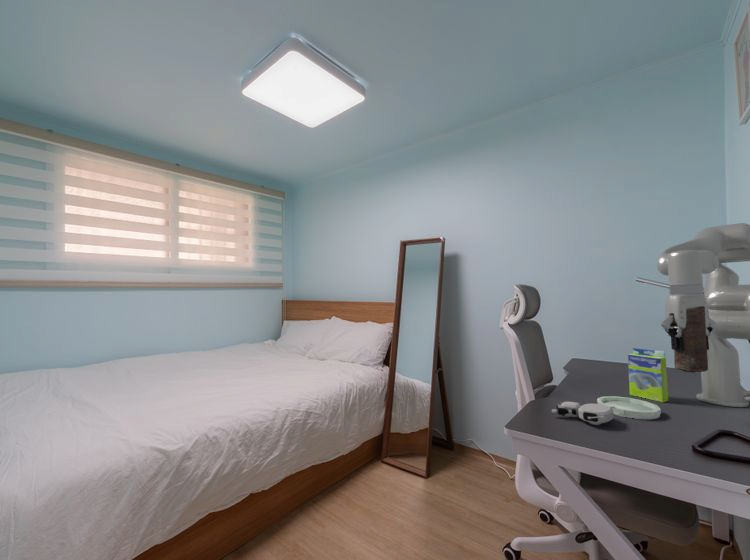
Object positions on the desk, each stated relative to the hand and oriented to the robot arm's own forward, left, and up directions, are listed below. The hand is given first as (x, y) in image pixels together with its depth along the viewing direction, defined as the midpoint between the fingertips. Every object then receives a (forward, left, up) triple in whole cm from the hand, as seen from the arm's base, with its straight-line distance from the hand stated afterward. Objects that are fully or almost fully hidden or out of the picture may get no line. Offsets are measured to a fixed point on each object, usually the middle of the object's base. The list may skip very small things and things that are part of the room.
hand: (690, 349), depth 100 cm
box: (-5, -21, -21) cm, 30 cm away
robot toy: (+32, -3, -21) cm, 39 cm away
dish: (+13, -9, -21) cm, 26 cm away
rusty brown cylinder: (0, 0, -7) cm, 7 cm away
